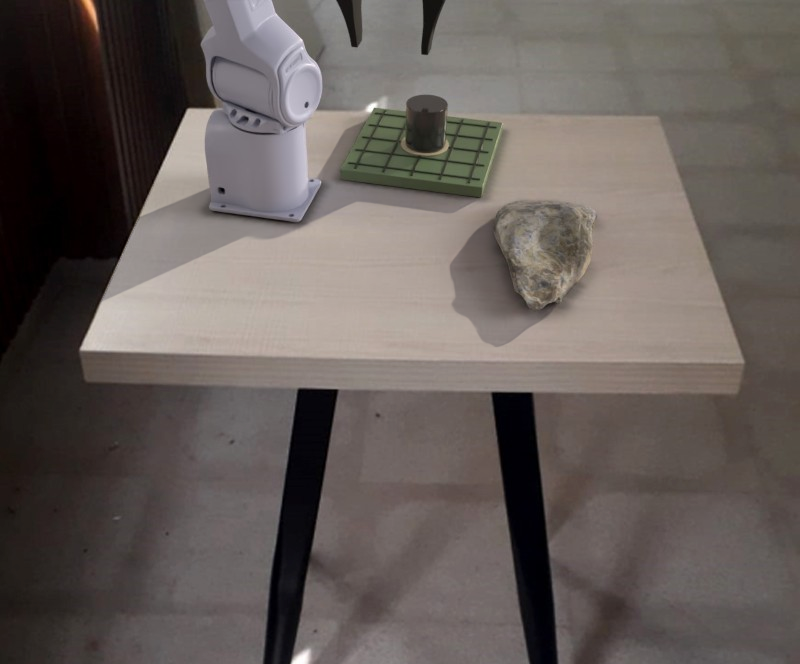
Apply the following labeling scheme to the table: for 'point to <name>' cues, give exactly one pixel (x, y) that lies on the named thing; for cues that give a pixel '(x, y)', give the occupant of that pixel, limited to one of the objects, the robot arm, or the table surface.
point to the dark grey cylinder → (426, 123)
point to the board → (423, 155)
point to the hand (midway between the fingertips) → (391, 47)
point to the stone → (545, 247)
